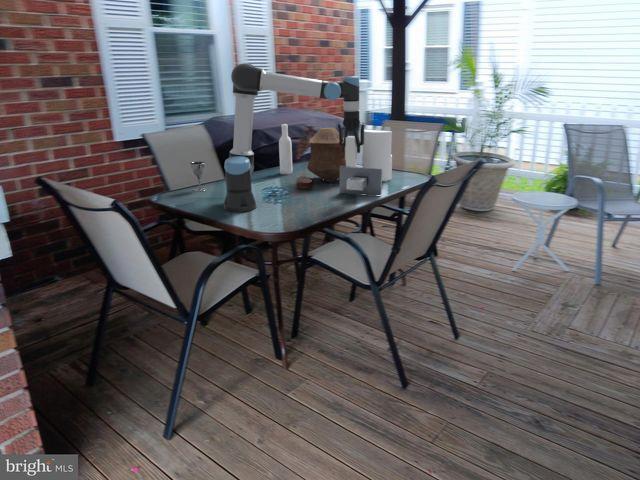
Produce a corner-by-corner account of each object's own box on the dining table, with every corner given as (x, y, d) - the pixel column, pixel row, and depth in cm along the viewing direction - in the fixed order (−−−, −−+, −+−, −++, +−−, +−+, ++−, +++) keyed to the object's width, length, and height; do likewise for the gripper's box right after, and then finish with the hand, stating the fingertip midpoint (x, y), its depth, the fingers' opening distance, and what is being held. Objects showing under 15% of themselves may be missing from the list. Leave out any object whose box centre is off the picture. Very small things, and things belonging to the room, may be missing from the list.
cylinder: (384, 183, 274) (385, 133, 265) (356, 180, 283) (357, 131, 273) (396, 177, 288) (398, 129, 279) (370, 174, 297) (371, 128, 287)
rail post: (354, 166, 236) (354, 137, 231) (345, 166, 238) (345, 137, 233) (357, 164, 240) (357, 136, 235) (348, 164, 241) (348, 136, 237)
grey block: (375, 201, 237) (376, 173, 233) (333, 197, 245) (333, 170, 240) (381, 195, 248) (382, 168, 243) (340, 192, 255) (340, 166, 250)
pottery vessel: (336, 186, 268) (336, 131, 257) (298, 181, 281) (297, 129, 271) (358, 177, 288) (359, 126, 278) (322, 173, 301) (322, 124, 291)
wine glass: (210, 189, 264) (207, 162, 259) (198, 192, 259) (195, 164, 254) (202, 187, 270) (199, 160, 264) (189, 190, 264) (186, 163, 259)
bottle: (277, 173, 304) (275, 124, 294) (286, 171, 309) (284, 123, 299) (286, 175, 298) (284, 125, 288) (295, 173, 304) (293, 124, 294)
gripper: (371, 109, 230) (371, 158, 238) (336, 109, 236) (337, 157, 244) (367, 111, 224) (367, 161, 231) (331, 111, 230) (332, 160, 237)
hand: (351, 159), depth 238 cm, fingers closed on rail post, 4 cm apart
